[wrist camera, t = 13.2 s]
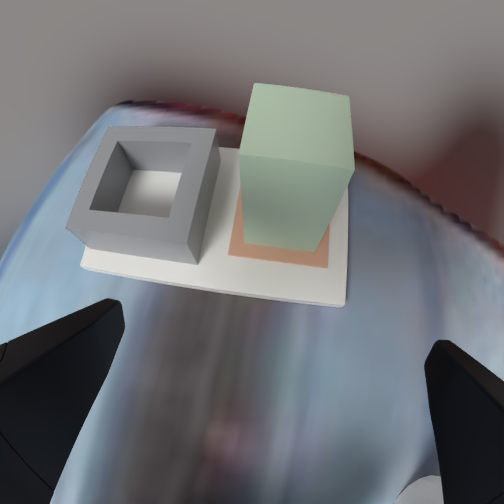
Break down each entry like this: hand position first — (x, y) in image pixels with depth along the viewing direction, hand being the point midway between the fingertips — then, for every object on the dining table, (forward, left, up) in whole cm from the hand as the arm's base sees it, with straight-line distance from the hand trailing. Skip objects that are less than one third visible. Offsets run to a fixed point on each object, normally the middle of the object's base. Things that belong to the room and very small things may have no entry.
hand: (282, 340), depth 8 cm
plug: (+9, +5, -12) cm, 16 cm away
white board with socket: (+6, +9, -14) cm, 18 cm away
